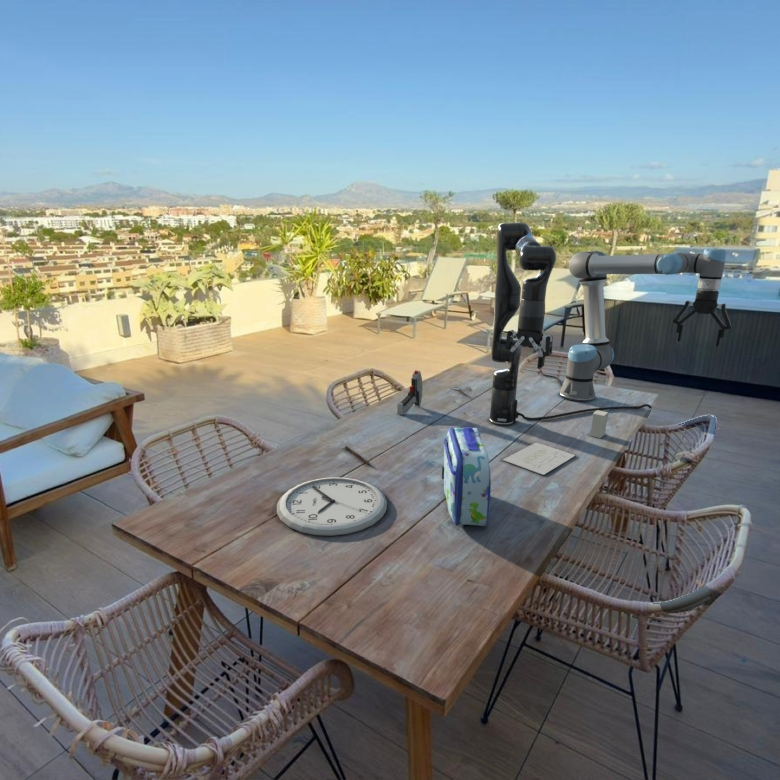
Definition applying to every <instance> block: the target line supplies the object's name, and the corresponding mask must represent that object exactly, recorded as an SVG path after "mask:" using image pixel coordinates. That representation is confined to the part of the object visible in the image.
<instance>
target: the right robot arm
mask: <svg viewBox="0 0 780 780" xmlns="http://www.w3.org/2000/svg"><path fill="white" fill-rule="evenodd" d="M726 257H727V250H726V249H724V248H704V250H703V252H702V253H691V252H690V253H689V252H672V253H661V254H660V253H654V254H653V253H652V254H620V255H619V254H618V255H617V254H615V255H607V254H606V253H605V252H602V251H599V250H591V251H588V250H587V251H579V252H577V253H575V254H574V255H572V256H571V258H570V259H569V262H568V270H569V272H570V274H571V275H572V276H573V277H575V278H577V279H579V284H580V286H582V290H583V308H584V309H583V310H584V312H583V313H584V330H585V333H584V334H585V338H584V339H583V341H582V343H581V344H574V345H572V346H571V347H570V348H569V350H568V354H567V363H566V370H565V371H566V373H565V379H564V381H563V384H562V383H561V381H560V378H559V377H557V376H554V375H549V374H545V373H543V371H542V369H539V371H538V372H539V373H540V374H541V376H543V377H547V378H552V379H556V380H557V383H558V384H559V385H560V386H561V388H560V389H559V396H560V397H561V398H563V399H566V400H569V401H573V402H580V403H581V402H593V401H594V400H595V398H596V392H595V388H594V383H593V382H594V374H595V372H597V371H600V370H604V369H606V368H607V367H609V366H610V365H611V364H612V363H613V361H614V360H615V359H614V358H615V352H614V349H613V347H612V346H611V345H610V339H609V338H608V337H606V317H605V316H606V314H605V313H606V311H605V292H604V291H605V289H604V285H605V283H606V282H607V280H608V276H607V275H665V276H667V275H674V274H699V276H698V282H697V290H696V293H695V298H694V301H691V300H686V301H685V303H684V305H683V307H682V309H680V311H679V312H678V313H677V315H676V316H675V317H674V319H673V320H672V323H673V324H675V325H676V331H675V332H676V333H677V334H678V335H677V342H679V343H680V342H681V341H682V337H683V331H684V323H685V322H686V321H687V320H688V319H689V318H691V317H692V316H693V315H695V314H696V313H697V314H701V315H702V314H704V315H709V314H710V315H711V316H712V318H713V320H715V322H716V323H717V325H718V326H719V329H718V333H717V338H716V343H715V347H719V346H720V342H721V339H723V338H724V337H725V333H726V330H730V329H731V328H732V327H733V326H732V322H731V320H730V317H729V314H728V312H727V304H726V303H718V299H719V294H720V291H719V290H720V289H721V288H720V287H721V284H722V277H723V273H724V269H725V265H726V259H727V258H726ZM691 306H692V307H693V308H694V309H693V310H692V311H690V312H689V313H688V314H686V315H685V316H684V317H682V316H683V315H684V313H685V312H686V311H687V310H688V308H690V307H691ZM717 308H718V309H719V310H720V311H721V314H722V316H723V317H722V318H723V319H724V322H725V323H724V322H723V321H722V319H721V317H719V315H718V313H717V311H716V309H717ZM681 318H682V319H681Z"/></svg>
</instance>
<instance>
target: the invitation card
mask: <svg viewBox="0 0 780 780" xmlns="http://www.w3.org/2000/svg"><path fill="white" fill-rule="evenodd" d="M576 456H577V455H576V454H573V453H570V452H567V451H565V450H561V449H558V448H555V447H552V446H549V445H546V444H543V443H539V442H534V443H532V444H529V445H528V446H526V447H524V448H522V449H520V450H518V451H516V452H514V453H512V454H510V455H509V456H507V457H505V458H503V459H502V461H503V462H506V463H509V464H511V465H514V466H518V467H520V468H523V469H525V470H528V471H531V472H534V473H536V474H539V475H541V476H545V475H547V474H548V473H550V472H552V471H554V469H556V468H558V467H559V466H561V465H563V464H564V463H566V462H568V461H570V460H571V459H572V458H574V457H576Z"/></svg>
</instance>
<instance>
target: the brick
mask: <svg viewBox="0 0 780 780" xmlns="http://www.w3.org/2000/svg"><path fill="white" fill-rule="evenodd" d="M608 415H609V412H608V411H605V410H596V411H593V413H592V418H591V425H590V432H589V436H590V437H595V438H599V439H602V438H603V437H604V436H605V435H606V430H607V422H608Z"/></svg>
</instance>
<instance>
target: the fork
mask: <svg viewBox="0 0 780 780" xmlns="http://www.w3.org/2000/svg"><path fill="white" fill-rule="evenodd" d="M450 385H451V387H452V389H453V390H457V391H458V392H459V393H460V394H462V395H463V396H466V397H467V394H466V393H465V392H464V391H463V390H460V389H459V387H458V385H457V383H456V382H454V383H451V384H450Z"/></svg>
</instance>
